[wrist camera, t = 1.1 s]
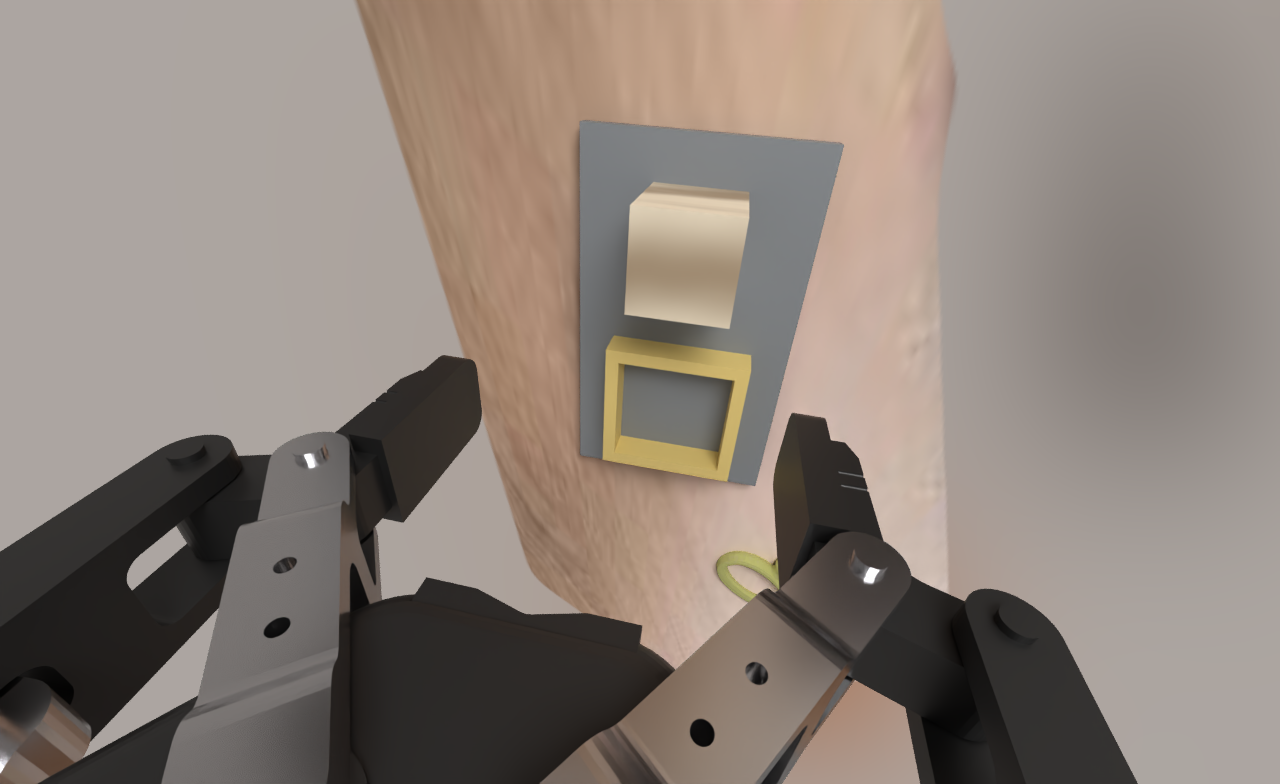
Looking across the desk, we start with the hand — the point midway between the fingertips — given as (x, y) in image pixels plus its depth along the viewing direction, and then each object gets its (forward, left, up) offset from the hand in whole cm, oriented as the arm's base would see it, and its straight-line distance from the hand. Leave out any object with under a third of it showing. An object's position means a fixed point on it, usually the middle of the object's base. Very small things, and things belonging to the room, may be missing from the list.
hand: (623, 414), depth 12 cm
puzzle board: (+6, 0, -18) cm, 19 cm away
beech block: (0, 0, -17) cm, 17 cm away
